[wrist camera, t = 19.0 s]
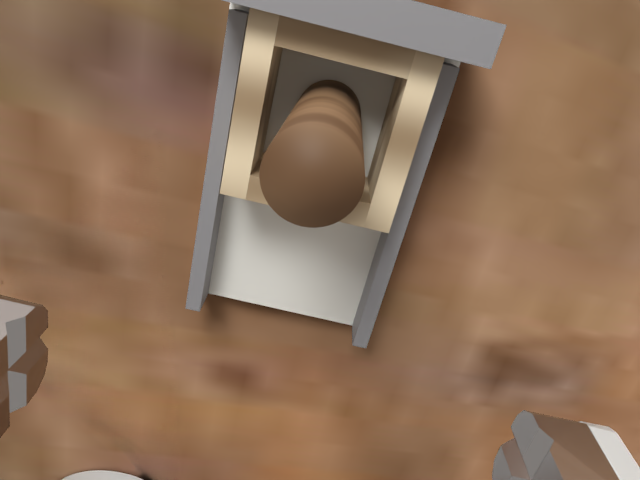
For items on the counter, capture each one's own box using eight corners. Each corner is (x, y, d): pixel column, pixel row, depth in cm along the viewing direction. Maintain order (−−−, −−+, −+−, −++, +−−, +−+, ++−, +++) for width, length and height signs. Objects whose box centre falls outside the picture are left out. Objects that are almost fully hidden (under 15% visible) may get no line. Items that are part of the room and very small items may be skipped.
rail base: (370, 318, 40) (376, 388, 33) (193, 279, 39) (159, 340, 32) (468, 21, 31) (506, 25, 24) (241, -39, 30) (208, -54, 23)
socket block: (382, 203, 34) (388, 233, 30) (236, 168, 34) (219, 193, 29) (430, 49, 30) (445, 56, 26) (264, 6, 30) (249, 6, 25)
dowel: (352, 150, 33) (351, 237, 20) (291, 136, 33) (251, 215, 20) (367, 87, 31) (376, 138, 18) (303, 73, 31) (268, 114, 18)
